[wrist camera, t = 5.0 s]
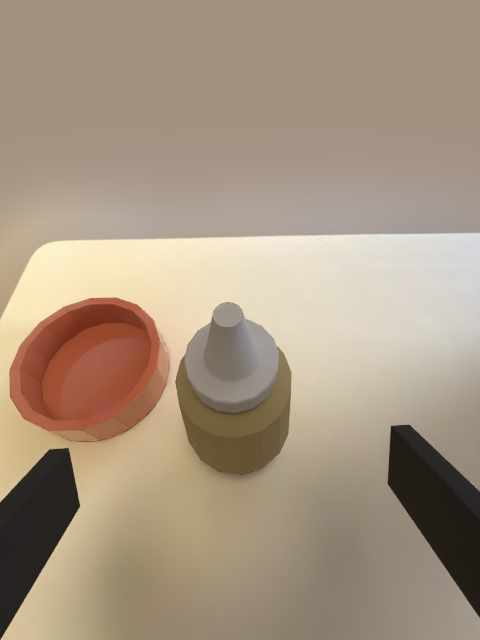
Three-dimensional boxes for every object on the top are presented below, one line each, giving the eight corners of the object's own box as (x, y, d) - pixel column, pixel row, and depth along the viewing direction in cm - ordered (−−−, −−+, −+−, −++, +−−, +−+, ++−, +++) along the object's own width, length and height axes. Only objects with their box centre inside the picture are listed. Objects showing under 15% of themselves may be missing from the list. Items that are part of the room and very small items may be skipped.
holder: (151, 304, 34) (141, 281, 31) (185, 406, 28) (177, 391, 25) (33, 344, 32) (8, 324, 29) (41, 466, 26) (10, 459, 22)
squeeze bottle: (173, 433, 27) (77, 325, 12) (234, 368, 30) (221, 217, 15) (243, 503, 24) (238, 481, 9) (302, 422, 27) (374, 303, 12)
